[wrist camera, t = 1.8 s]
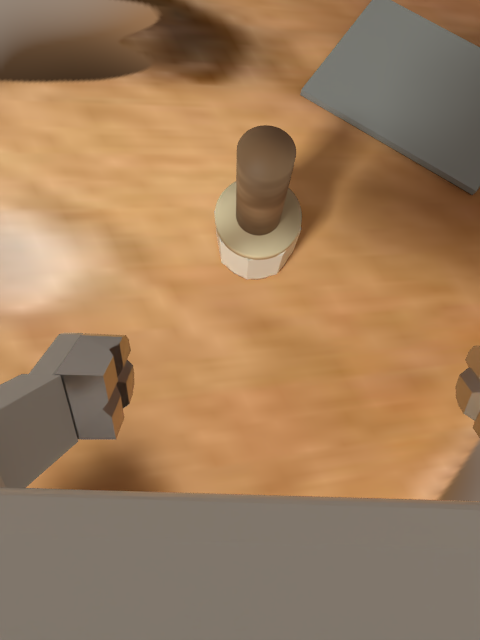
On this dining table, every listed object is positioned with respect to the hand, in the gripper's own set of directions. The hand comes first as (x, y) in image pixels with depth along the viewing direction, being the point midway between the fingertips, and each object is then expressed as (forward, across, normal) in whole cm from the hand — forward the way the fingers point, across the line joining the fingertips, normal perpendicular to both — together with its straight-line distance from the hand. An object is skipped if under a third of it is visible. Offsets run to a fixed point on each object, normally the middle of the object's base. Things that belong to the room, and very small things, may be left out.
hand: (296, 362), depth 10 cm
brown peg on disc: (+21, 0, +3) cm, 21 cm away
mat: (+36, -15, -6) cm, 39 cm away
